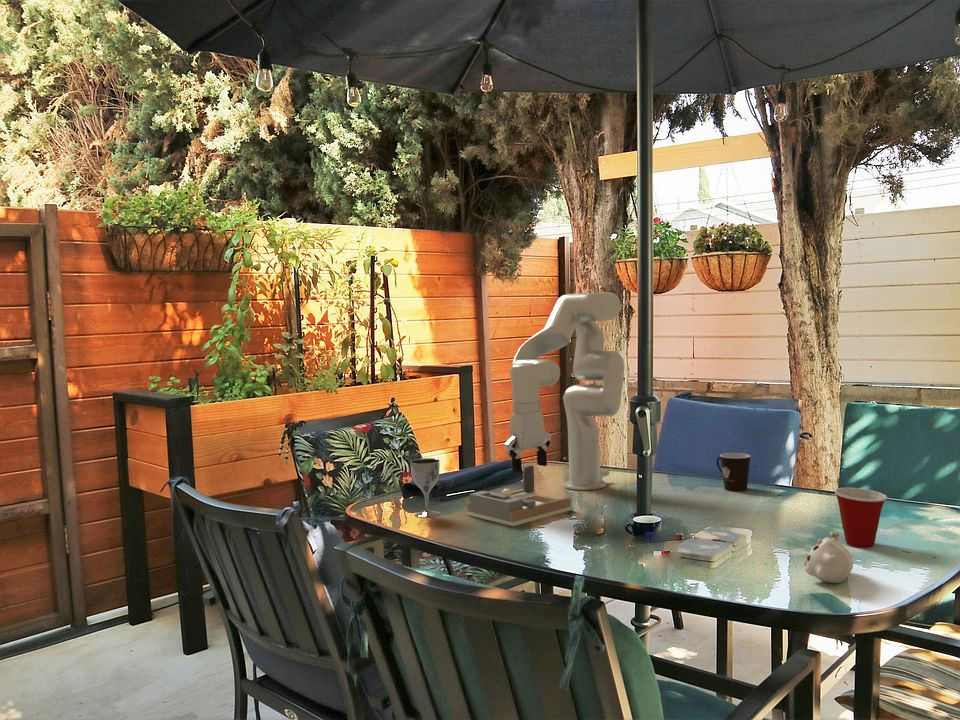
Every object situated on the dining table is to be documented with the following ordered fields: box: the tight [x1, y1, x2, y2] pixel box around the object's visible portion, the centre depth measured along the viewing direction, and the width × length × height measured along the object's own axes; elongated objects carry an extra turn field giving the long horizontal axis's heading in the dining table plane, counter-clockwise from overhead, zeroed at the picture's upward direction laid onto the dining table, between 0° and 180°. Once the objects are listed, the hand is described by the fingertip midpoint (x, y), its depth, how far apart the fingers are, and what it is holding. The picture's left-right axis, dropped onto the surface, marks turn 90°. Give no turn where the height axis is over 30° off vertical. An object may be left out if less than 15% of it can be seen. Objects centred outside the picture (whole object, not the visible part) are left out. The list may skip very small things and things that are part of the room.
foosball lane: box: [466, 488, 572, 527], centre depth 227 cm, size 22×18×6 cm
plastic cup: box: [834, 487, 888, 549], centre depth 186 cm, size 11×11×12 cm
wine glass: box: [410, 457, 441, 519], centre depth 228 cm, size 8×8×15 cm
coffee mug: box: [716, 452, 751, 493], centre depth 246 cm, size 12×9×10 cm
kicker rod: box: [489, 464, 537, 507], centre depth 227 cm, size 12×18×11 cm, turn 41°
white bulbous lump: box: [804, 530, 854, 584], centre depth 164 cm, size 10×8×15 cm
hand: (529, 468), depth 230 cm, fingers open, 9 cm apart
